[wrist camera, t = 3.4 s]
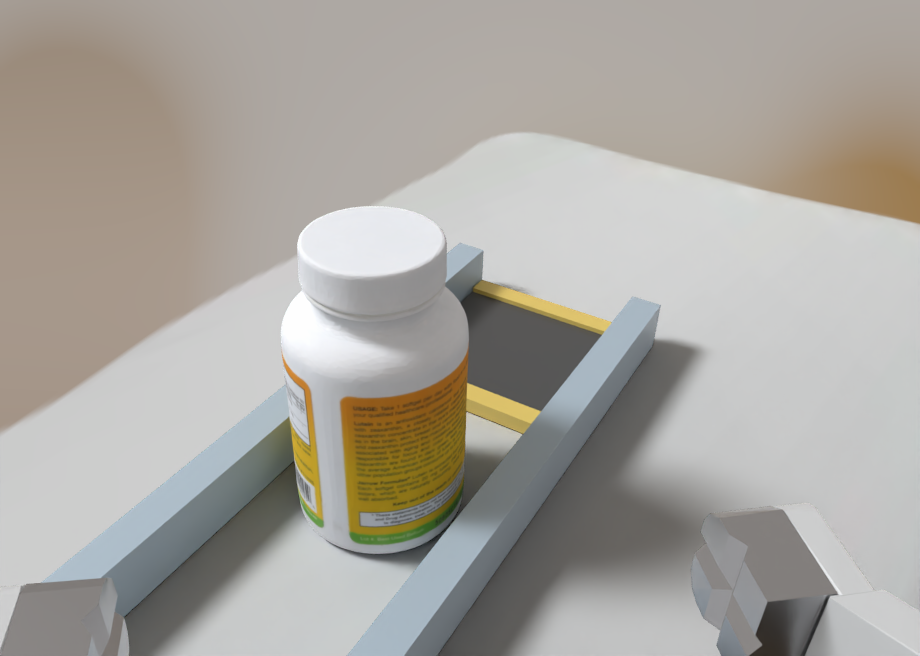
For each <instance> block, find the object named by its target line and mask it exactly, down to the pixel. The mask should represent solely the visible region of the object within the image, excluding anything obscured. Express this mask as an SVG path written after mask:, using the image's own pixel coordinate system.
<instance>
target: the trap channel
mask: <svg viewBox="0 0 920 656" xmlns="http://www.w3.org/2000/svg"><path fill="white" fill-rule="evenodd" d="M482 269H483V250H481V249H478V248H475V247H472V246H468V245H465V244H462V243H459V244H458V245H457V246H456V247H454V248H453V249H452V250H451V251H449V252H448V253H447V277H446V283H445V287H446V288H448V289H449V290H450V291H451V292H452V293H453V294H454V295H455V296H456V298H457V299H458V300H459V302H460V303H461V305H462V307H463V309H464V311H465V313H466V316H467V321H468V331H469V350H468V376H467V402H466V411H468V412H470V413H473V414H475V415H478V416H480V417H483V418H485V419H488V420H490V421H493V422H495V423H498V424H500V425H503V426H505V427H508V428H510V429H513V430H515V431H518V432H520V433H523V435H522V436H521V437H520V439H519V440H518V441H517V442H516V444H515V445H514V446H513V448H512V449H511V450H510V451H509V453H508V454H507V455H506V456H505V458H504V459H503V460H502V461H501V463H500V464H499V465H498V466H497V468H496V469H495V470H494V471H493V473H492V474H491V475H490V476H489V478H488V479H487V480H486V481H485V483H484V484H483V485H482V486H481V488H480V489H479V490H478V492H477V493H476V494H475V495H474V497H473V498H472V499H471V500H470V502H469V503H468V504H467V505H466V507H465V508H464V509H463V510H462V512H461V513H460V514H459V515H458V517H457V518H456V519H455V520H454V522H453V523H452V524H451V525H450V527H449V528H448V529H447V530H446V532H445V533H444V534H443V535H442V537H441V538H440V539H439V541H438V542H437V543H436V544H435V546H434V547H433V548H432V549H431V551H430V552H429V553H428V554H427V556H426V557H425V558H424V559H423V561H422V562H421V563H420V564H419V566H418V567H417V568H416V569H415V571H414V572H413V573H412V574H411V576H410V577H409V578H408V579H407V581H406V582H405V583H404V585H403V586H402V587H401V588H400V590H399V591H398V592H397V593H396V595H395V596H394V597H393V598H392V600H391V601H390V602H389V603H388V605H387V606H386V607H385V608H384V610H383V611H382V612H381V613H380V615H379V616H378V617H377V618H376V620H375V621H374V622H373V623H372V625H371V626H370V627H369V629H368V630H367V631H366V632H365V634H364V635H363V636H362V637H361V639H360V640H359V641H358V642H357V644H356V645H355V646H354V647H353V649H352V650H351V651H350V652H349V654H348V655H347V656H437V655H438V653H439V652H440V651H441V649H442V648H443V646H444V645H445V643H446V642H447V640H448V639H449V638H450V636H451V635H452V633H453V632H454V630H455V629H456V628H457V626H458V625H459V623H460V622H461V620H462V619H463V618H464V616H465V615H466V613H467V612H468V610H469V609H470V607H471V606H472V605H473V603H474V602H475V600H476V599H477V597H478V596H479V595H480V593H481V592H482V590H483V589H484V587H485V586H486V584H487V583H488V582H489V580H490V579H491V577H492V576H493V574H494V573H495V572H496V570H497V569H498V567H499V566H500V564H501V563H502V561H503V560H504V559H505V557H506V556H507V554H508V553H509V551H510V550H511V549H512V547H513V546H514V544H515V543H516V541H517V540H518V538H519V537H520V536H521V534H522V533H523V531H524V530H525V528H526V527H527V526H528V524H529V523H530V521H531V520H532V518H533V517H534V515H535V514H536V513H537V511H538V510H539V508H540V507H541V505H542V504H543V503H544V501H545V500H546V498H547V497H548V495H549V494H550V493H551V491H552V490H553V488H554V487H555V485H556V484H557V482H558V481H559V480H560V478H561V477H562V475H563V474H564V472H565V471H566V470H567V468H568V467H569V465H570V464H571V462H572V461H573V459H574V458H575V457H576V455H577V454H578V452H579V451H580V449H581V448H582V447H583V445H584V444H585V442H586V441H587V439H588V438H589V436H590V435H591V434H592V432H593V431H594V429H595V428H596V426H597V425H598V424H599V422H600V421H601V419H602V418H603V416H604V415H605V413H606V412H607V411H608V409H609V408H610V406H611V405H612V403H613V402H614V401H615V399H616V398H617V396H618V395H619V393H620V392H621V390H622V389H623V388H624V386H625V385H626V383H627V382H628V380H629V379H630V378H631V376H632V375H633V373H634V372H635V370H636V369H637V368H638V366H639V365H640V363H641V362H642V360H643V359H644V357H645V356H646V355H647V353H648V352H649V350H650V349H651V347H652V346H653V343H654V337H655V332H656V327H657V322H658V316H659V311H660V306H661V305H658V304H655V303H652V302H649V301H645V300H642V299H639V298H636V297H632V298H631V299H630V300H629V302H628V303H627V304H626V305H625V307H624V308H623V309H622V310H621V312H620V313H619V314H618V316H617V317H616V318H615V319H614V321H613V322H610V321H606V320H603V319H600V318H597V317H594V316H591V315H588V314H585V313H582V312H579V311H576V310H573V309H570V308H567V307H564V306H561V305H558V304H554V303H551V302H548V301H545V300H542V299H539V298H536V297H533V296H530V295H527V294H524V293H521V292H518V291H515V290H512V289H509V288H505V287H502V286H499V285H496V284H493V283H490V282H487V281H484V280H482ZM293 461H294V452H293V443H292V434H291V426H290V417H289V407H288V399H287V391H286V384H285V385H284V386H283V387H282V388H281V389H279V390H278V391H277V392H276V393H274V394H273V395H272V396H271V397H269V398H268V399H267V400H266V401H264V402H263V403H262V404H261V405H260V406H258V407H257V408H256V409H255V410H253V411H252V412H251V413H250V414H248V415H247V416H246V417H245V418H244V419H242V420H241V421H240V422H239V423H237V424H236V425H235V426H234V427H232V428H231V429H230V430H229V431H228V432H226V433H225V434H224V435H223V436H221V437H220V438H219V439H218V440H216V441H215V442H214V443H213V444H211V445H210V446H209V447H208V448H207V449H205V450H204V451H203V452H202V453H200V454H199V455H198V456H197V457H195V458H194V459H193V460H192V461H191V462H189V463H188V464H187V465H186V466H184V467H183V468H182V469H181V470H179V471H178V472H177V473H176V474H174V475H173V476H172V477H171V478H170V479H168V480H167V481H166V482H165V483H163V484H162V485H161V486H160V487H158V488H157V489H156V490H155V491H154V492H152V493H151V494H150V495H149V496H147V497H146V498H145V499H144V500H142V501H141V502H140V503H139V504H137V505H136V506H135V507H134V508H133V509H131V510H130V511H129V512H128V513H126V514H125V515H124V516H123V517H121V518H120V519H119V520H118V521H117V522H115V523H114V524H113V525H112V526H110V527H109V528H108V529H107V530H105V531H104V532H103V533H102V534H100V535H99V536H98V537H97V538H96V539H94V540H93V541H92V542H91V543H89V544H88V545H87V546H86V547H84V548H83V549H82V550H81V551H80V552H78V553H77V554H76V555H75V556H73V557H72V558H71V559H70V560H68V561H67V562H66V563H65V564H64V565H62V566H61V567H60V568H59V569H57V570H56V571H55V572H54V573H52V574H51V575H50V576H49V577H47V578H46V579H45V580H44V581H43V582H41V583H46V582H59V581H71V580H84V579H96V578H112V580H113V583H114V586H115V589H116V592H117V595H118V596H117V601H116V607H115V612H116V613H118V614H119V615H121V616H122V617H125V616H126V615H127V614H128V613H129V612H130V611H131V610H132V609H133V608H134V607H135V606H136V605H138V604H139V603H140V602H141V601H142V600H143V599H144V598H145V597H146V596H147V595H148V594H150V593H151V592H152V591H153V590H154V589H155V588H156V587H157V586H158V585H159V584H160V583H162V582H163V581H164V580H165V579H166V578H167V577H168V576H169V575H170V574H171V573H172V572H174V571H175V570H176V569H177V568H178V567H179V566H180V565H181V564H182V563H183V562H184V561H185V560H187V559H188V558H189V557H190V556H191V555H192V554H193V553H194V552H195V551H196V550H197V549H199V548H200V547H201V546H202V545H203V544H204V543H205V542H206V541H207V540H208V539H209V538H211V537H212V536H213V535H214V534H215V533H216V532H217V531H218V530H219V529H220V528H221V527H222V526H224V525H225V524H226V523H227V522H228V521H229V520H230V519H231V518H232V517H233V516H234V515H236V514H237V513H238V512H239V511H240V510H241V509H242V508H243V507H244V506H245V505H246V504H248V503H249V502H250V501H251V500H252V499H253V498H254V497H255V496H256V495H257V494H258V493H259V492H261V491H262V490H263V489H264V488H265V487H266V486H267V485H268V484H269V483H270V482H271V481H273V480H274V479H275V478H276V477H277V476H278V475H279V474H280V473H281V472H282V471H283V470H285V469H286V468H287V467H288V466H289V465H290V464H291V463H292V462H293Z"/></svg>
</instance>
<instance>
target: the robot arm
mask: <svg viewBox="0 0 920 656" xmlns="http://www.w3.org/2000/svg"><path fill="white" fill-rule="evenodd" d="M701 534H702V536H703V538H704V540H705V542H706V543H705V544H704V545H703V546H702V547H701V548H700V549H699V550H698V551H697V552H695V553H694V558H693V562H692V567H691V579H692V589H693V593H694V596H695V600H696V603H697V605H698V608H699V610H700V612H701V614H702V616H703V618H704V619H705V620H706V621H708V622H709V623H711V624H712V625H713V626H715V627H716V628H717V629H719V630H720V633H719V637H718V641H717V645H716V646H717V648H718V650H719V652H720V654H721V656H920V611H919V610H917V609H915V608H914V607H912V606H910V605H909V604H907V603H906V602H904V601H902V600H901V599H899V598H897V597H896V596H894V595H892V594H891V593H889V592H888V591H886V590H874V589H873V587H872V586H871V584H870V583H869V582H868V580H867V579H866V577H865V576H864V574H863V573H862V572H861V570H860V569H859V567H858V566H857V565H856V563H855V562H854V560H853V559H852V558H851V556H850V555H849V553H848V552H847V550H846V549H845V548H844V546H843V545H842V543H841V542H840V541H839V539H838V538H837V536H836V535H835V533H834V532H833V531H832V529H831V528H830V526H829V525H828V524H827V522H826V521H825V519H824V518H823V517H822V515H821V514H820V512H819V511H818V510H817V508H816V507H814V506H813V505H811V504H810V503H800V504H790V505H781V506H775V507H772V506H767V507H759V508H751V509H742V510H734V511H725V512H717V513H710V514H709V515H708V516H707V517H706V518H705V519H704V522H703V525H702V529H701ZM117 596H118V595H117V592H116V589H115V586H114V583H113V580H112V578H96V579H84V580H71V581H59V582H46V583H34V584H26V585H15V586H4V587H0V656H129V640H128V632H127V627H126V623H125V619H124V617H122V616H121V615H119V614H118V613H116V612H115V607H116V601H117Z"/></svg>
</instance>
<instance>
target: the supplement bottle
mask: <svg viewBox="0 0 920 656" xmlns="http://www.w3.org/2000/svg"><path fill="white" fill-rule="evenodd" d="M297 250H298V267H299V275H298V276H299V282H300V284H301V287H302V291H301V292H300V293H299V294H298V295H297V296H296V297H295V298H294V300H293V301H292V302H291V304H290V305H289V307H288V309H287V311H286V313H285V316H284V319H283V322H282V327H281V350H282V358H283V367H284V375H285V383H286V391H287V399H288V407H289V417H290V426H291V434H292V443H293V452H294V461H295V469H296V478H297V487H298V493H299V498H300V504H301V508H302V511H303V513H304V515H305V517H306V519H307V521H308V523H309V524H310V526H311V527H312V528H313V529H314V530H315V531H316V532H317V533H318V534H319V535H320V536H321V537H323V538H324V539H325V540H327V541H328V542H330V543H332V544H334V545H336V546H339V547H341V548H344V549H347V550H351V551H355V552H361V553H369V554H385V553H395V552H400V551H405V550H409V549H412V548H415V547H417V546H420V545H422V544H424V543H426V542H428V541H430V540H431V539H433V538H434V537H436V536H437V535H438V534H439V533H441V532H442V531H443V530H444V529H445V528H446V527H447V526H448V525H449V524H450V522H451V521H452V520H453V518H454V516H455V515H456V513H457V511H458V509H459V507H460V504H461V500H462V495H463V486H464V467H465V431H466V402H467V376H468V350H469V331H468V321H467V316H466V313H465V311H464V309H463V307H462V305H461V303H460V302H459V300H458V299H457V298H456V296H455V295H454V294H453V293H452V292H451V291H450V290H449V289H448V288H446V287H445V283H446V277H447V242H446V237H445V235H444V232H443V231H442V229H441V228H440V227H439V226H438V225H437V224H436V223H435V222H434V221H432V220H431V219H429V218H427V217H426V216H424V215H421V214H419V213H416V212H413V211H410V210H406V209H401V208H394V207H385V206H365V207H354V208H347V209H343V210H339V211H335V212H332V213H329V214H327V215H324V216H322V217H320V218H318V219H316V220H314V221H313V222H311V223H310V224H309V225H308V226H307V227H306V228H305V229H304V230H303V231H302V233H301V234H300V236H299V239H298V245H297Z"/></svg>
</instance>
